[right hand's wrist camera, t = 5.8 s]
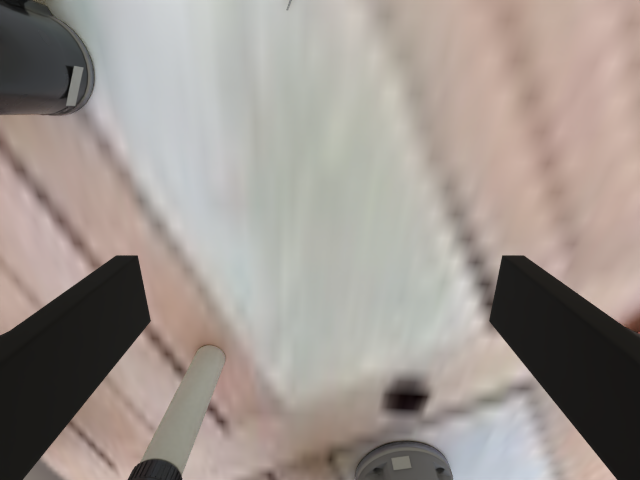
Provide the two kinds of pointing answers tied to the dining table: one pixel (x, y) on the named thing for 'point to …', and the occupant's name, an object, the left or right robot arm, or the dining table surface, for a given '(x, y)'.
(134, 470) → the lid
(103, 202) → the dining table surface
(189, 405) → the bottle
